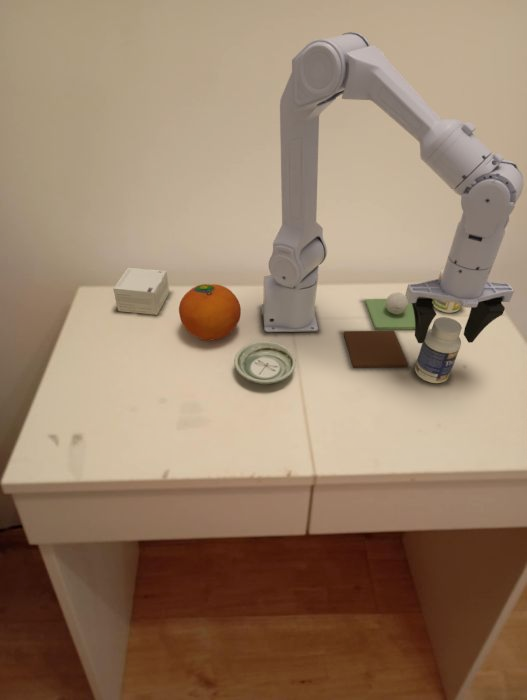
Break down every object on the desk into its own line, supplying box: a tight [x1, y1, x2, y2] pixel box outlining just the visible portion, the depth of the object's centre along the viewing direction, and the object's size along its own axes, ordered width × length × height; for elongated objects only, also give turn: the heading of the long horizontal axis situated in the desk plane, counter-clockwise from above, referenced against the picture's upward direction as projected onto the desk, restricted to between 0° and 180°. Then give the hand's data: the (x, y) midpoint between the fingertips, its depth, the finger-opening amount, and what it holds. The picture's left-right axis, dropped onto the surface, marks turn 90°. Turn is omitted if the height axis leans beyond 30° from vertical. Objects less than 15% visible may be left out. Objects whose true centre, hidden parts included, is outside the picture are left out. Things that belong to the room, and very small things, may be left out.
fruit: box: [178, 283, 242, 341], centre depth 81 cm, size 11×10×8 cm
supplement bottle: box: [432, 266, 462, 313], centre depth 88 cm, size 5×5×10 cm
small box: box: [112, 267, 170, 316], centre depth 88 cm, size 8×8×5 cm
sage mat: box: [364, 298, 415, 331], centre depth 88 cm, size 9×9×1 cm
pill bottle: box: [414, 316, 462, 384], centre depth 73 cm, size 5×5×10 cm
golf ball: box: [386, 292, 408, 314], centre depth 87 cm, size 4×4×4 cm
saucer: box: [234, 340, 297, 385], centre depth 75 cm, size 10×10×2 cm
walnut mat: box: [343, 330, 409, 369], centre depth 80 cm, size 9×9×1 cm
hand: (443, 338), depth 72 cm, fingers open, 7 cm apart
